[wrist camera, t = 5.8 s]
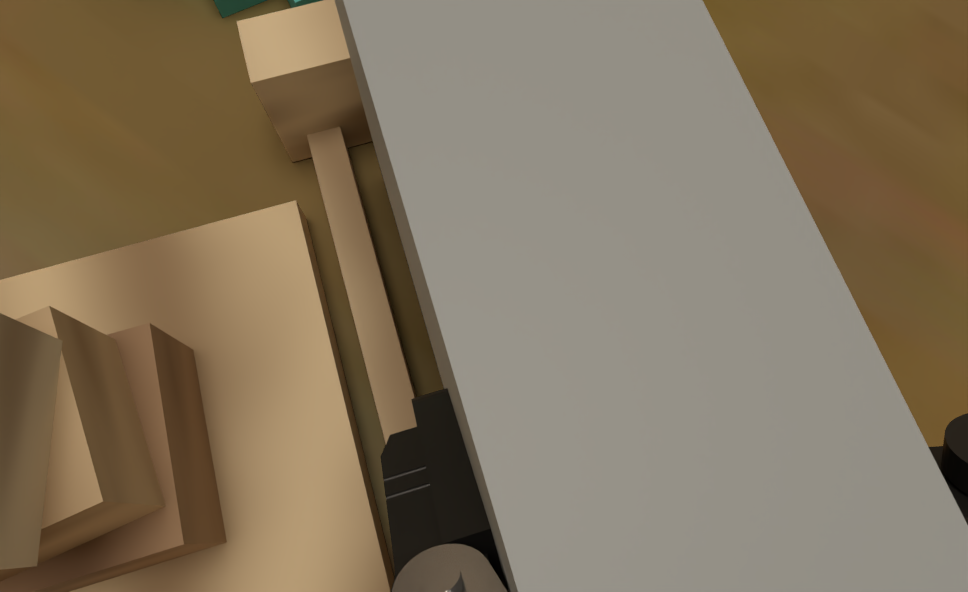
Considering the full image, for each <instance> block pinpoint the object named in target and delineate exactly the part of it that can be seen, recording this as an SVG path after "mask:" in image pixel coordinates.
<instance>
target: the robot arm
mask: <svg viewBox="0 0 968 592" xmlns="http://www.w3.org/2000/svg"><path fill="white" fill-rule="evenodd" d="M411 400H412V405H413V410H414V414H415V419H416V424H417V427H414V428H411V429H407V430H404V431H401V432H397V433H394V434H391V435H390V436H389V438H388V441H387V443H386V445H385V448H384V450H383V453H382V455H381V463H382V471H383V478H384V486H385V494H386V499H387V500H386V502H387V510H388V518H389V526H390V534H391V541H392V549H393V557H394V565H395V577H394V582H393V585H392V589H391V591H390V592H508V589H507V585H506V582H505V578H504V575H503V571H502V567H501V564H500V560H499V556H498V553H497V549H496V545H495V542H494V538H493V534H492V531H491V527H490V524H489V521H488V518H487V514H486V511H485V508H484V505H483V501H482V498H481V495H480V492H479V489H478V485H477V482H476V479H475V476H474V472H473V469H472V466H471V463H470V460H469V456H468V453H467V450H466V447H465V443H464V440H463V437H462V434H461V431H460V427H459V424H458V421H457V418H456V414H455V411H454V408H453V405H452V402H451V398H450V395H449V392H448V389H447V388H446V389H443V390H439V391H436V392H433V393H429V394H426V395H423V396H419V397H416V398H413V399H411ZM928 448H929V449H930V451H931V453H932V455H933V457H934V459H935V461H936V463H937V465H938V467H939V469H940V471H941V473H942V475H943V477H944V479H945V481H946V483H947V485H948V487H949V489H950V491H951V493H952V495H953V497H954V499H955V501H956V503H957V505H958V507H959V509H960V511H961V513H962V515H963V517H964V519H965V521H966V523H967V525H968V414H964V415H962V416H959V417H957V418H955V419H954V420H952V421H951V422H950V423H949V424H948V426H947V428H946V430H945V436H944V444H943V446H939V447H928Z"/></svg>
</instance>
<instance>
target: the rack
mask: <svg viewBox="0 0 968 592" xmlns="http://www.w3.org/2000/svg"><path fill="white" fill-rule="evenodd" d="M237 25H238V30H239V34H240V38H241V43H242V47H243V51H244V55H245V60H246V64H247V68H248V73H249V77H250V81H251V84H252V86H253V88H254V90H255V92H256V94H257V96H258V97H259V99H260V101H261V103H262V105H263V107H264V109H265V111H266V113H267V115H268V116H269V118H270V120H271V122H272V124H273V126H274V128H275V130H276V132H277V134H278V136H279V137H280V139H281V141H282V143H283V145H284V147H285V149H286V151H287V153H288V155H289V157H290V158H291V160H292V162H296V161H300V160H303V159H307V158H311V157H312V158H313V162H314V165H315V169H316V173H317V177H318V181H319V185H320V189H321V193H322V197H323V201H324V204H325V208H326V212H327V216H328V220H329V224H330V228H331V232H332V236H333V240H334V244H335V247H336V251H337V255H338V259H339V263H340V267H341V271H342V275H343V279H344V283H345V287H346V290H347V294H348V298H349V302H350V306H351V310H352V314H353V318H354V322H355V326H356V329H357V333H358V337H359V341H360V345H361V349H362V353H363V357H364V361H365V365H366V369H367V372H368V376H369V380H370V384H371V388H372V392H373V396H374V400H375V404H376V408H377V412H378V415H379V419H380V423H381V427H382V431H383V435H384V439H385V443H387V441H388V438H389V436H390V435H391V434H394V433H397V432H401V431H404V430H407V429H411V428H414V427H417V424H416V419H415V414H414V410H413V405H412V400H411V399H413V398H416V394H415V390H414V387H413V383H412V379H411V376H410V372H409V368H408V365H407V361H406V358H405V354H404V350H403V347H402V343H401V340H400V336H399V332H398V329H397V325H396V321H395V318H394V314H393V311H392V307H391V303H390V300H389V296H388V292H387V289H386V285H385V282H384V278H383V274H382V271H381V267H380V263H379V260H378V256H377V253H376V249H375V245H374V242H373V238H372V234H371V231H370V227H369V224H368V220H367V216H366V213H365V209H364V206H363V202H362V198H361V195H360V191H359V187H358V184H357V180H356V177H355V173H354V169H353V166H352V162H351V158H350V155H349V151H348V148H349V147H353V146H356V145H360V144H364V143H368V142H371V141H373V140H372V137H371V133H370V129H369V126H368V122H367V118H366V114H365V111H364V107H363V103H362V100H361V96H360V92H359V89H358V85H357V81H356V78H355V74H354V70H353V66H352V63H351V59H350V55H349V52H348V48H347V44H346V41H345V37H344V33H343V30H342V26H341V22H340V18H339V15H338V11H337V7H336V4H335V0H323V1H319V2H315V3H311V4H307V5H302V6H298V7H294V8H290V9H286V10H282V11H278V12H274V13H269V14H265V15H261V16H257V17H253V18H249V19H245V20H241V21H237ZM47 306H51V307H53V308H55V309H57V310H59V311H61V312H62V313H64V314H66V315H68V316H70V317H72V318H74V319H76V320H78V321H80V322H82V323H84V324H86V325H88V326H90V327H92V328H94V329H96V330H98V331H99V332H101V333H103V334H105V335H108V334H111V333H115V332H118V331H122V330H125V329H129V328H133V327H136V326H140V325H143V324H147V323H151V324H152V325H154V326H156V327H157V328H159V329H160V330H162V331H164V332H165V333H167V334H169V335H170V336H172V337H173V338H175V339H177V340H178V341H180V342H182V343H183V344H185V345H186V346H188V347H190V348H191V349H193V351H194V356H195V362H196V368H197V374H198V379H199V385H200V391H201V397H202V402H203V408H204V414H205V419H206V425H207V431H208V437H209V442H210V448H211V454H212V460H213V465H214V471H215V477H216V482H217V488H218V494H219V500H220V505H221V511H222V517H223V523H224V528H225V534H226V540H227V542H226V543H223V544H219V545H216V546H213V547H210V548H207V549H204V550H200V551H197V552H194V553H191V554H188V555H184V556H181V557H178V558H175V559H172V560H168V561H165V562H162V563H159V564H156V565H153V566H149V567H146V568H143V569H140V570H137V571H133V572H130V573H127V574H124V575H121V576H118V577H114V578H111V579H108V580H105V581H102V582H98V583H95V584H92V585H89V586H86V587H82V588H79V589H76V590H73V591H70V592H390V591H391V589H392V585H393V582H394V575H393V571H392V567H391V563H390V558H389V554H388V550H387V546H386V542H385V538H384V534H383V530H382V526H381V522H380V518H379V514H378V509H377V505H376V501H375V497H374V493H373V489H372V485H371V481H370V477H369V473H368V469H367V465H366V460H365V456H364V452H363V448H362V444H361V440H360V436H359V432H358V428H357V424H356V420H355V415H354V411H353V407H352V403H351V399H350V395H349V391H348V387H347V383H346V379H345V375H344V371H343V366H342V362H341V358H340V354H339V350H338V346H337V342H336V338H335V334H334V330H333V326H332V322H331V317H330V313H329V309H328V305H327V301H326V297H325V293H324V289H323V285H322V281H321V277H320V272H319V268H318V264H317V260H316V256H315V252H314V248H313V244H312V240H311V236H310V232H309V228H308V223H307V219H306V217H305V215H304V214H303V212H302V210H301V208H300V207H299V205H298V203H297V201H296V200H295V201H292V202H288V203H284V204H281V205H277V206H273V207H269V208H266V209H262V210H258V211H255V212H251V213H247V214H244V215H240V216H236V217H232V218H229V219H225V220H221V221H218V222H214V223H210V224H206V225H203V226H199V227H195V228H192V229H188V230H184V231H180V232H177V233H173V234H169V235H166V236H162V237H158V238H155V239H151V240H147V241H143V242H140V243H136V244H132V245H129V246H125V247H121V248H117V249H114V250H110V251H106V252H103V253H99V254H95V255H91V256H88V257H84V258H80V259H77V260H73V261H69V262H66V263H62V264H58V265H54V266H51V267H47V268H43V269H40V270H36V271H32V272H28V273H25V274H21V275H17V276H14V277H10V278H6V279H2V280H0V313H1V314H4V315H6V316H8V317H10V318H13V319H18V318H20V317H23V316H25V315H27V314H30V313H32V312H35V311H37V310H40V309H42V308H45V307H47Z"/></svg>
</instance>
